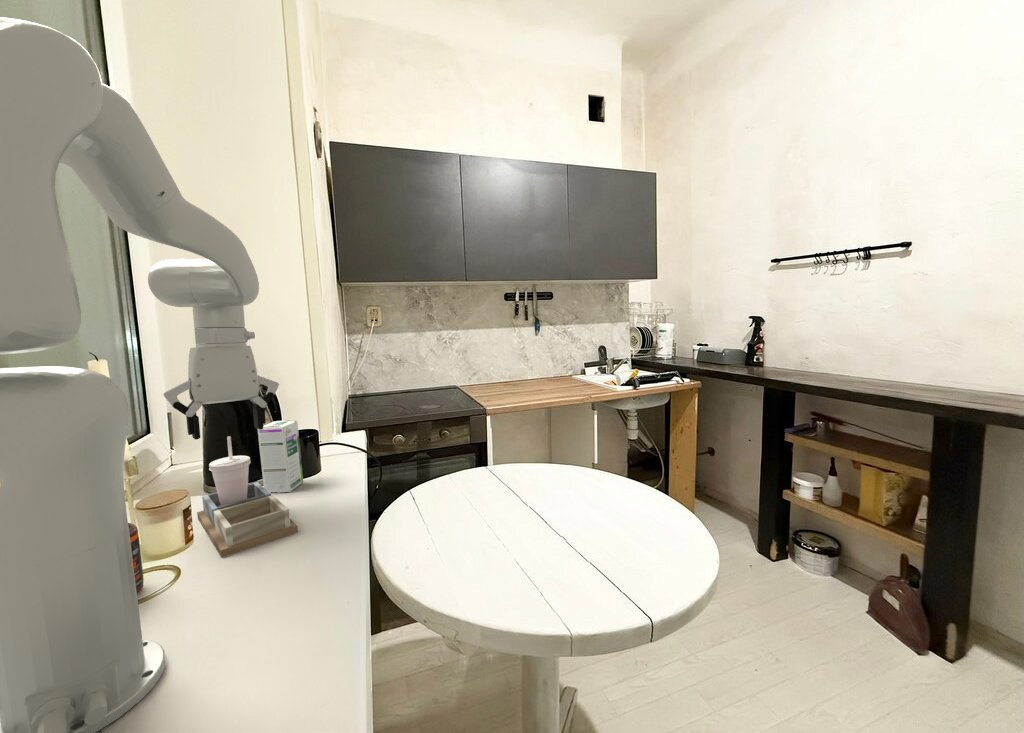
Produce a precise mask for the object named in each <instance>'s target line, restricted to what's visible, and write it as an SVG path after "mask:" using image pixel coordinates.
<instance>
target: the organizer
mask: <svg viewBox="0 0 1024 733" xmlns="http://www.w3.org/2000/svg"><path fill="white" fill-rule="evenodd" d="M201 498H202V505H203V506H202V507H203V510H200V511H197V512H196V514H197V516H196V517H197V519H198V521H199V523H200V525H201V526H202V528H203V530H204V531H205V533H206V535H207V536H208V538H209V539H210V542H211V543H212V544H213V546H214V548H215V550H216V551H217V553H218V555H219V557H220V558H221V559H222V558H225V557H228V556H231V555H234V554H237V553H240V552H242V551H246V550H249V549H252V548H255V547H257V546H259V545H263V544H266V543H269V542H272V541H275V540H278V539H281V538H284V537H287V536H290V535H293V534H295V533H298V532H299V530H298V524H296V522H295V521H294V520H292V519H291V516H290V509H289V508H288V507H287V506H286V505H285V504H284V503H282V502H281V501H280V500H279V499H278V498H277V497H276V496H274V495H273V494H272V493H270V492H268V491H267V490H266V489H265V488H264V485H262V484H260V483H259V482H258V481H255V482H251V483H248V490H247V499H244V500H241V501H237V502H233V503H230V504H226V505H222V506H221V505H220V501H219V497H218V493H217V491H216V492H212V493H207V494H204V495H203V494H202V496H201Z"/></svg>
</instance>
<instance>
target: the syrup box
mask: <svg viewBox="0 0 1024 733" xmlns="http://www.w3.org/2000/svg"><path fill="white" fill-rule="evenodd" d="M298 425H299V424H298V421H297V420H287V419H286V420H276V421H272V422H269V423H268V424H265V425H263V429H257V436H258V446H259V447H258V448H259V455H260V465H261V472H262V484H263V485H262V486H263V487H264V488H265V489H266V490H267V491H268V492H290V493H291V492H292V491H294V489H296V488H297V487H299V486H300V485H302V484H303V483H304V475H303V467H302V454H301V445H300V435H299V426H298Z"/></svg>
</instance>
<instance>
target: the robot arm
mask: <svg viewBox="0 0 1024 733" xmlns="http://www.w3.org/2000/svg"><path fill="white" fill-rule="evenodd" d="M154 143H155V142H153V140H152V138H151V137H150V134H149V132H148V131H147V128H145V126H144V123H143V122H142V120H141V119H140V117H139V115H138V113H137V111H136V110H135V108H134V107H133V106H132V104H131V103H130V101H129V100H128V99H127V98H126V97H125V96H124V95H123V94H122V93H120V92H119V91H117V90H116V89H115V88H112V87H111V86H108V85H107V84H105V83H103V82H102V77H101V73H100V70H99V68H98V65H97V64H96V62H95V60H94V58H93V57H92V55H91V54H90V53H89V52H88V50H86V48H85V47H83V45H81V44H80V43H79V42H78V41H77V40H75V39H74V38H72V37H70V36H69V35H67V34H66V33H63V32H61V31H59V30H57V29H54V28H52V27H50V26H47V25H43V24H39V23H36V22H33V21H32V22H31V21H27V20H22V19H17V18H9V17H1V16H0V355H12V354H15V355H16V354H26V353H33V352H42V351H47V350H52V349H54V348H55V349H56V348H59V347H61V346H63V345H65V344H68V343H69V342H70V341H72V340H73V339H74V337H75V336H76V335H77V334H78V333H79V330H80V328H81V323H82V310H81V309H82V308H81V303H80V297H79V292H78V288H77V282H76V279H75V275H74V269H73V267H72V262H71V258H70V255H69V253H70V252H69V249H68V246H67V242H66V237H65V234H64V228H63V225H62V221H61V216H60V211H59V205H58V200H57V196H56V195H57V194H56V174H57V171H58V167H59V165H60V164H64V165H66V166H67V167H70V168H71V169H72V170H73V171H74V173H75V175H77V177H78V179H80V181H81V182H82V183H83V185H85V187H86V188H87V190H88V191H89V193H91V195H92V196H93V197H94V199H95V200H96V202H97V203H98V204H99V205H100V208H102V210H103V211H104V213H105V214H106V215H107V216H108V218H109V219H110V220H111V221H112V223H113V224H115V226H116V227H118V228H120V229H122V230H124V231H125V232H127V233H130V234H132V235H135V236H137V237H141V238H143V239H146V240H150V241H152V242H155V243H159V244H161V245H165V246H168V247H172V248H176V249H180V250H183V251H187V252H189V253H193V254H195V255H198V256H199V257H200V256H201V257H202V258H195V259H194V258H191V259H190V258H178V259H177V258H175V259H174V258H171V259H165V260H161V261H158V262H157V263H155V264H154V265H153V266H152V267H151V268H150V270H149V272H148V274H147V283H148V284H147V285H148V287H149V290H150V292H151V294H152V295H153V296H154V297H155V298H156V300H159V301H160V302H162V303H163V304H164V305H168V306H171V307H176V308H192V318H193V328H194V329H193V330H194V339H195V341H194V342H195V346H194V347H190V349H189V354H188V363H187V364H188V365H187V367H188V368H187V374H188V375H187V376H188V377H187V378H188V380H186V381H184V382H182V383H181V384H178V385H176V386H175V387H172V388H171V389H169V390H166V391H165V392H164V393H163V397H164V398H165V399H166V400H167V403H169V404H170V405H171V407H172V408H173V409H175V410H177V411H178V412H180V413H181V414H183V415H184V416H185V417H186V428H187V435H189V436H191V435H192V438H193V439H194V440H199V439H201V430H200V429H201V428H200V419H199V416H198V415H197V412H198V411H199V410H200V409H201V407H202V406H203V405H210V404H218V403H228V402H236V401H238V402H239V401H246V400H250V402H252V403H253V404H254V406H253V409H252V411H253V424H254V428H255V429H257V430H258V429H263V426H264V424H265V425H266V422H267V421H266V420H267V419H266V407H267V406H268V404H269V403H270V402H271V401H272V400H273V399H274V397H275V395H276V392H277V390H278V389H279V386H280V384H279V382H277V381H274V380H271V379H269V378H266V377H263V376H261V375H258V371H257V367H256V361H255V356H254V353H253V350H252V347H251V345H247V343H248V341H249V340H255V338H256V335H255V332H254V331H249V330H248V329H247V328H246V325H245V324H246V322H245V308H244V306H247V305H250V304H252V303H254V301H255V300H256V299H257V298H258V295H259V292H260V282H259V278H258V275H257V272H256V269H255V267H254V264H253V261H252V259H251V257H250V255H249V253H248V251H247V249H246V246H245V245H244V243H243V241H242V240H241V239H240V238H239V237H238V235H236V234H235V232H234V231H232V229H230V228H229V227H227V226H226V224H225V225H224V223H223V222H221V221H220V220H218V219H217V218H215V217H214V216H212V215H211V214H209V213H208V212H206V211H205V210H203V209H201V208H200V207H198V206H197V205H195V204H192V203H191V202H189V201H188V200H186V199H185V198H184V197H183V195H182V193H181V191H180V190H179V187H178V186H177V183H176V182H175V180H174V178H173V176H172V174H171V173H170V171H169V169H168V167H167V166H166V164H165V161H164V160H163V158H162V156H161V154H160V153H159V151H158V149H157V148H156V146H155V144H154ZM260 385H264V386H265V387H267V390H266V392H265V393H264V394H263V395H262V397H260V396H259V394H260ZM187 391H188V395H189V399H190V400H191V402H190V403H189V404H188V405H185V404H184V403H182V402H181V401H180V400H179V399H178V396H179V395H180V394H182V393H184V392H187ZM129 415H130V414H129V404H128V400H127V397H126V393H125V392H124V391H123V389H122V388H121V386H120V385H119V383H117V382H116V381H115V380H113V379H111V377H109V376H107V375H105V374H102V373H100V372H97V371H95V370H90V369H86V368H82V367H72V366H60V365H59V366H57V365H54V366H53V365H50V366H49V365H48V366H47V365H45V366H21V367H17V366H16V367H0V733H97V732H99V731H100V730H102V729H103V728H105V727H107V726H108V725H110V724H112V723H113V722H115V721H116V720H117V719H119V718H120V717H121V716H123V715H124V714H126V713H127V712H128V711H130V710H131V709H132V708H134V706H136V705H137V704H138V703H139V702H140V701H141V700H142V699H144V697H145V696H146V695H147V694H148V693H149V692H150V691H151V690H152V689H153V688H154V687H155V685H156V683H157V682H158V681H159V680H160V678H161V677H162V674H163V672H164V670H165V666H166V655H165V650H164V648H163V647H162V645H161V644H160V643H158V642H156V641H153V640H149V639H143V632H142V625H141V617H140V608H139V600H138V594H137V591H136V583H135V575H134V567H133V559H132V551H131V542H130V534H129V526H128V523H129V522H128V513H127V504H126V494H125V493H126V492H125V491H126V490H125V476H124V474H125V472H124V470H125V469H124V468H125V451H126V444H127V443H126V441H127V436H128V435H127V434H128V428H129Z"/></svg>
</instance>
